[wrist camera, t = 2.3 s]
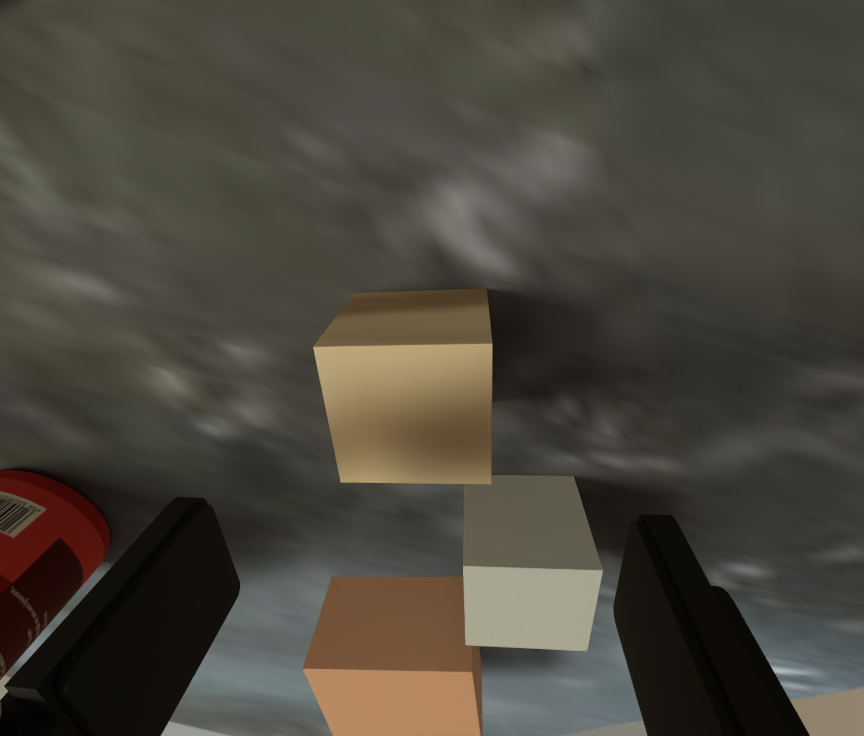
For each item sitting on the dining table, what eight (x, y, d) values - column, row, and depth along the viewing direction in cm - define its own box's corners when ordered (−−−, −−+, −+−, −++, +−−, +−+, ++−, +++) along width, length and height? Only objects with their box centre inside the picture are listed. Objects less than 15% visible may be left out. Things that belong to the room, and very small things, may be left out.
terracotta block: (332, 574, 25) (302, 668, 20) (471, 573, 24) (472, 672, 19) (359, 654, 28) (339, 748, 24) (480, 656, 27) (483, 755, 23)
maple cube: (355, 292, 16) (313, 346, 12) (486, 287, 16) (492, 343, 12) (371, 402, 19) (340, 482, 14) (486, 401, 18) (491, 484, 14)
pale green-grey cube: (464, 473, 20) (463, 566, 16) (573, 474, 20) (602, 570, 15) (466, 546, 23) (465, 645, 18) (563, 549, 22) (587, 651, 18)
